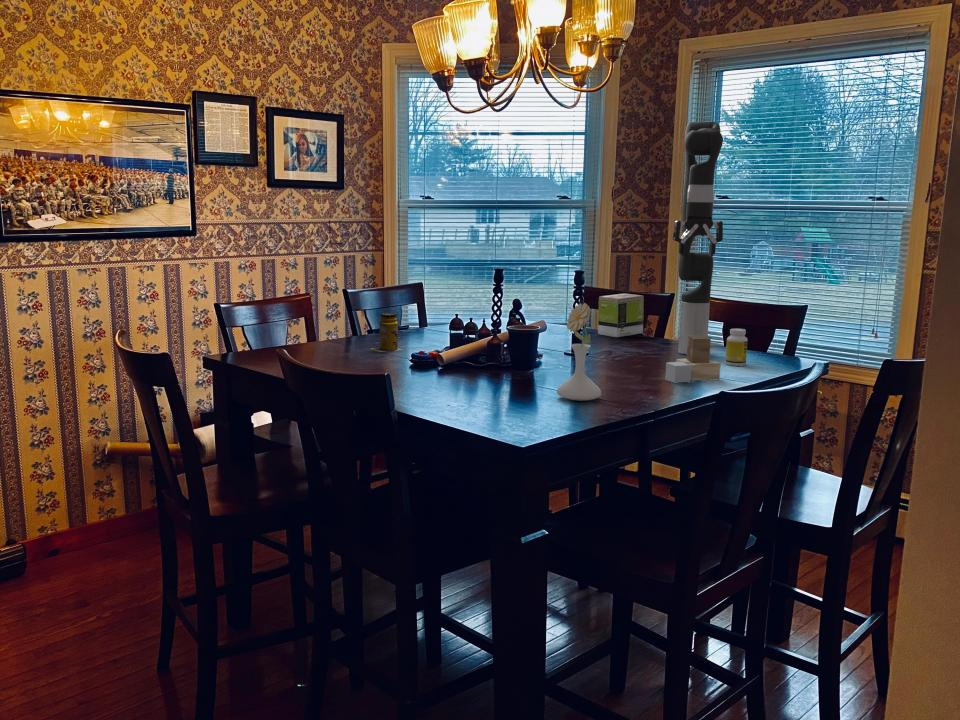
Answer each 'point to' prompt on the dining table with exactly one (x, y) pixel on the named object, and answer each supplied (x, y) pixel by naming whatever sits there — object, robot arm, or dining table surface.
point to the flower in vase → (579, 360)
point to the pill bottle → (736, 348)
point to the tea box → (620, 315)
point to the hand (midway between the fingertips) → (696, 256)
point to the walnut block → (698, 349)
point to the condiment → (388, 333)
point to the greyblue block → (678, 372)
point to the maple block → (703, 370)
